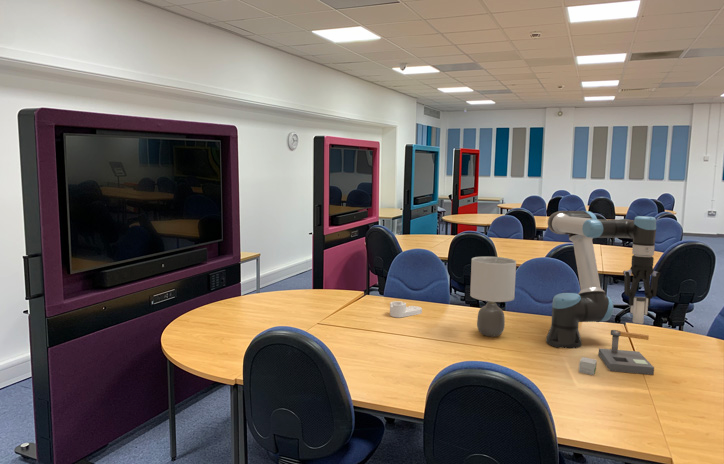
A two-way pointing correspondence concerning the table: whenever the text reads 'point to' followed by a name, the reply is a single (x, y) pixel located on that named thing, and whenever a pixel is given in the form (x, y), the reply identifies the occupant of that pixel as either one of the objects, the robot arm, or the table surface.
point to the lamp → (492, 290)
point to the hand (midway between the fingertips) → (638, 313)
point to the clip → (629, 334)
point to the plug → (639, 310)
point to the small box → (587, 366)
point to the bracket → (403, 309)
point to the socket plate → (625, 360)
